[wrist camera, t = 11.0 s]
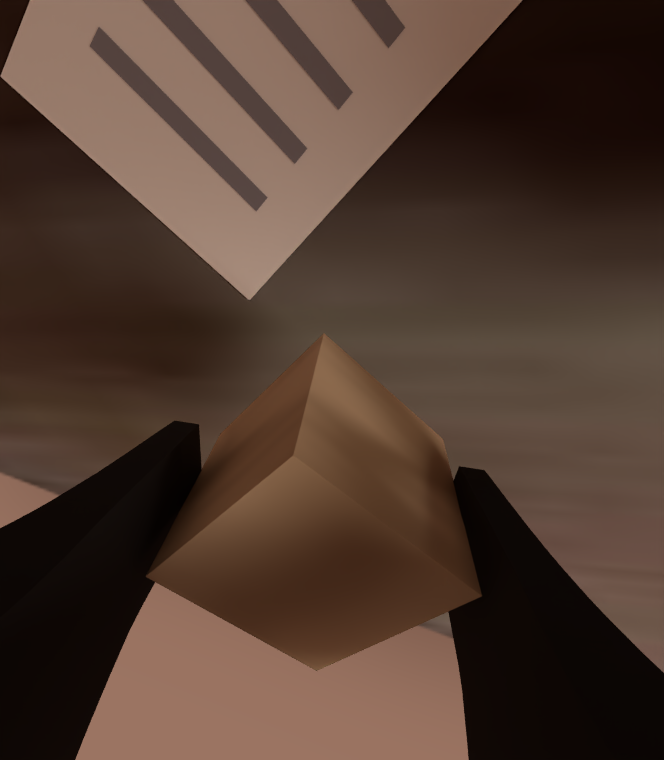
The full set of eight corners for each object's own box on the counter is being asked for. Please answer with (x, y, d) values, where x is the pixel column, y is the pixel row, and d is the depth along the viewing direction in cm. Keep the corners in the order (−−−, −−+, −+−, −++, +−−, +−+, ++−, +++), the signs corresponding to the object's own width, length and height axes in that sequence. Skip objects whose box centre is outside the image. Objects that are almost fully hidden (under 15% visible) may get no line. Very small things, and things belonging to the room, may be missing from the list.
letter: (604, -90, 10) (607, -93, 9) (249, 299, 15) (249, 300, 15) (299, -675, 7) (297, -692, 7) (3, 76, 12) (-2, 75, 12)
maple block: (442, 439, 11) (482, 596, 7) (332, 514, 13) (316, 671, 9) (323, 333, 10) (293, 455, 6) (220, 433, 12) (146, 576, 8)
